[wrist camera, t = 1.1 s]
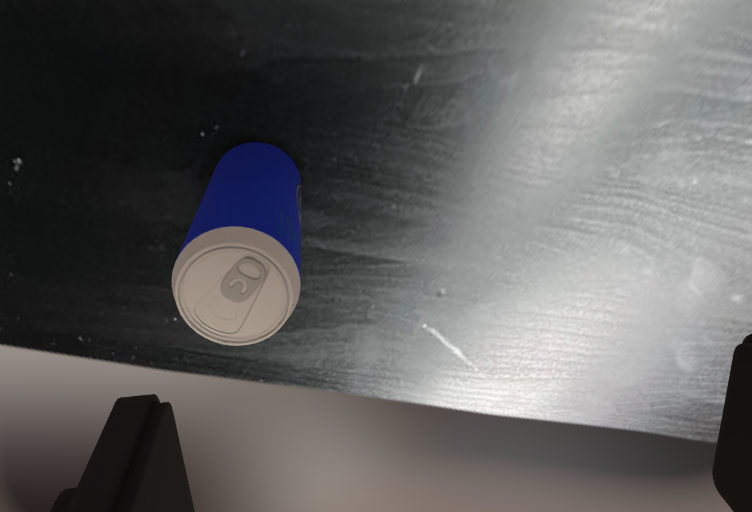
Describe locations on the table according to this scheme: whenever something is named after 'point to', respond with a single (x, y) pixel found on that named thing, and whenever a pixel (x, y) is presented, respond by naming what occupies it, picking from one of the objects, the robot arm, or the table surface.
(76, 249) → the table surface
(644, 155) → the table surface
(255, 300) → the beverage can
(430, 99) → the table surface
